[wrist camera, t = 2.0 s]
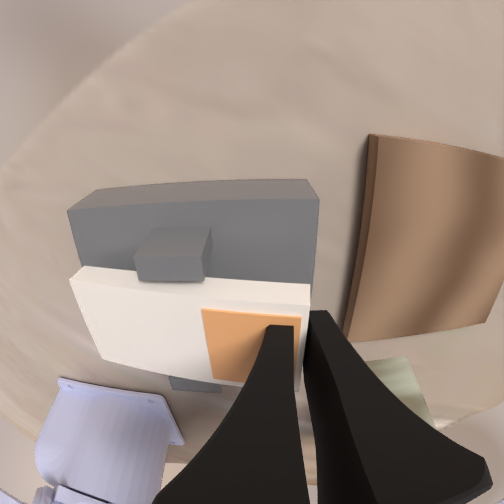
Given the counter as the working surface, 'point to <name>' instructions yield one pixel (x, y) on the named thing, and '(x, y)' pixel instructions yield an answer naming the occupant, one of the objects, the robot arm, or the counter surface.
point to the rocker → (189, 322)
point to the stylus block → (402, 384)
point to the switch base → (201, 234)
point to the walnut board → (426, 240)
